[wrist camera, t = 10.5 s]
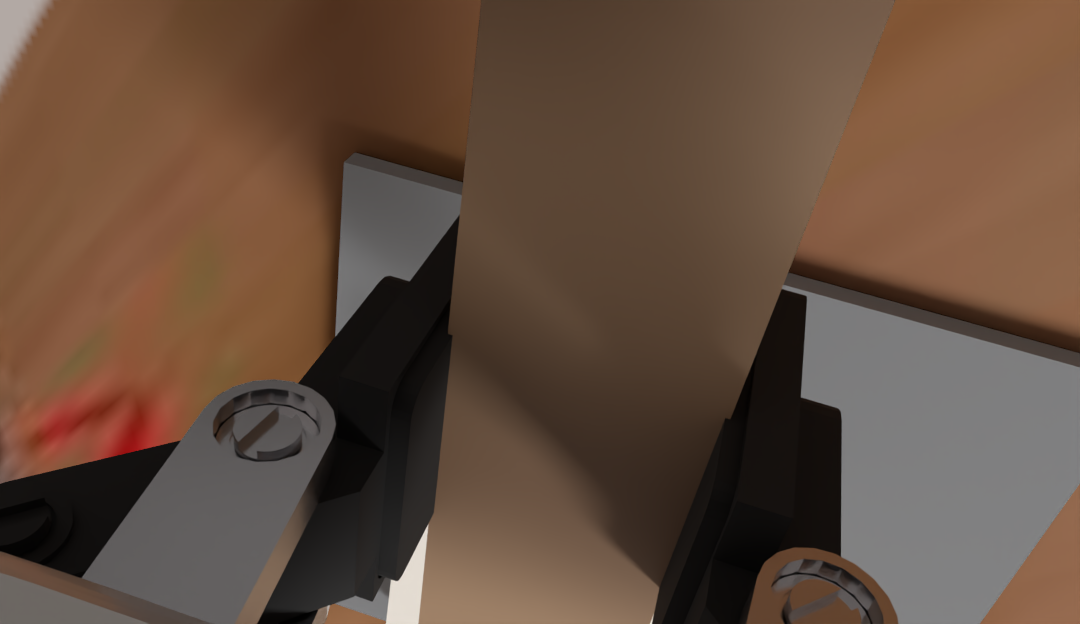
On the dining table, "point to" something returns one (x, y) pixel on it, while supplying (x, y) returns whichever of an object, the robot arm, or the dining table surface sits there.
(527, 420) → the tan rectangular bar
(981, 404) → the rubber mat
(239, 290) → the dining table surface
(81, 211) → the dining table surface
